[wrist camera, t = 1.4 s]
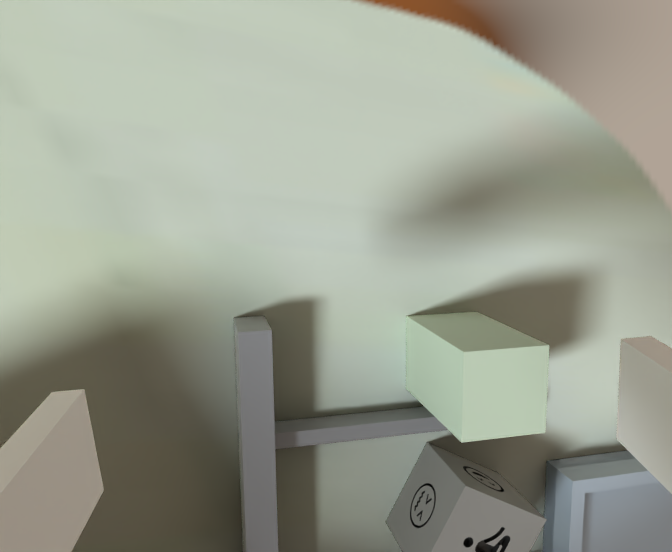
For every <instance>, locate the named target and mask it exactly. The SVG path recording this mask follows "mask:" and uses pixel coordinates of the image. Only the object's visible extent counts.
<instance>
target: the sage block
mask: <svg viewBox="0 0 672 552" xmlns="http://www.w3.org/2000/svg"><path fill="white" fill-rule="evenodd" d="M548 366H549V345H548V344H546V343H544V342H542V341H539V340H537V339H535V338H533V337H531V336H529V335H526V334H524V333H522V332H520V331H518V330H515V329H513V328H511V327H509V326H507V325H505V324H502V323H500V322H498V321H496V320H494V319H492V318H489V317H487V316H485V315H483V314H481V313H479V312H476V311H475V312H460V313H445V314H430V315H414V316H406V389H407V390H408V391H409V392H410V393H411V394H412V395H413V396H414V397H415V398H416V399H417V400H418V401H419V402H420V403H421V404H422V405H423V406H424V407H425V408H426V409H427V410H428V411H430V412H431V413H432V414H433V415H434V416H435V417H436V418H437V419H438V420H439V421H440V422H441V423H442V424H443V425H444V426H445V427H446V428H447V429H448V430H449V431H450V432H451V433H452V434H453V435H454V436H455V437H456V438H457V439H458V440H459V441H460V442H461V443H463V442H471V441H480V440H488V439H497V438H505V437H514V436H522V435H531V434H539V433H545V431H546V409H547V387H548Z"/></svg>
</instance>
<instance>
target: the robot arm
mask: <svg viewBox="0 0 672 552" xmlns="http://www.w3.org/2000/svg"><path fill="white" fill-rule="evenodd" d="M616 439H617V440H618V441H619V442H620V443H621V444H622V445H623V446H624V447H625V448H626V449H627V450H628V451H629V452H630V453H631V454H632V455H633V456H634V457H635V458H636V459H637V460H638V461H639V462H640V463H641V464H642V465H643V466H644V467H645V468H646V469H647V470H648V471H649V472H650V473H651V474H652V475H653V476H654V477H655V478H656V479H657V480H658V481H659V482H660V483H661V484H662V485H663V486H664V487H665V488H666V489H667V490H668V491H669V492H670V493H671V494H672V349H671V348H670V347H668V346H667V345H665V344H663V343H662V342H660V341H658V340H657V339H655V338H653V337H652V336H647V337H636V338H625V339H621V346H620V368H619V389H618V411H617V433H616ZM103 491H104V488H103V483H102V477H101V472H100V467H99V462H98V457H97V452H96V446H95V441H94V436H93V431H92V426H91V420H90V415H89V410H88V405H87V400H86V395H85V389H79V390H68V391H57V392H51V393H50V395H49V396H48V397H47V398H46V399H45V400H44V401H43V402H42V403H41V404H40V406H39V407H38V408H37V409H36V410H35V411H34V412H33V413H32V414H31V415H30V416H29V418H28V419H27V420H26V421H25V422H24V423H23V424H22V425H21V426H20V427H19V429H18V430H17V431H16V432H15V433H14V434H13V435H12V436H11V437H10V438H9V439H8V441H7V442H6V443H5V444H4V445H3V446H2V447H1V448H0V552H72V550H73V548H74V546H75V544H76V542H77V540H78V539H79V537H80V535H81V533H82V531H83V529H84V527H85V525H86V523H87V521H88V520H89V518H90V516H91V514H92V512H93V510H94V508H95V506H96V504H97V503H98V501H99V499H100V497H101V495H102V493H103Z"/></svg>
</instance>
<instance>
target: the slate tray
mask: <svg viewBox="0 0 672 552" xmlns="http://www.w3.org/2000/svg"><path fill="white" fill-rule="evenodd" d="M544 517H545V518H546V519H547V520H546V522H545V524H544V532H543V552H672V494H671V493H670V492H669V491H668V490H667V489H666V488H665V487H664V486H663V485H662V484H661V483H660V482H659V481H658V480H657V479H656V478H655V477H654V476H653V475H652V474H651V473H650V472H649V471H648V470H647V469H646V468H645V467H644V466H643V465H642V464H641V463H640V462H639V461H638V460H637V459H636V458H635V457H634V456H633V455H632V454H631V453H630V452H629V451H628V450H627V451H620V452H612V453H604V454H596V455H589V456H581V457H573V458H565V459H558V460H550V461H547V468H546V489H545V511H544Z"/></svg>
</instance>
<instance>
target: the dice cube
mask: <svg viewBox="0 0 672 552" xmlns="http://www.w3.org/2000/svg"><path fill="white" fill-rule="evenodd" d="M546 520H547V519H546V518H545V517H544V516H543V515H541V514H540V513H539V512H538V511H537V510H536V509H535V508H534V507H533V506H532V505H531V504H530V503H529V502H528V501H527V500H526V499H525V498H524V497H523V496H522V495H521V494H520V493H519V492H518V491H517V490H515V489H514V488H513V487H512V486H511V485H510V484H509V483H508V482H507V481H506V480H505V479H504V478H503V477H502V476H501V475H500V474H499V473H497V472H495V471H492V470H490V469H488V468H485V467H483V466H481V465H479V464H476V463H474V462H472V461H469V460H467V459H465V458H462V457H460V456H458V455H455V454H453V453H451V452H448V451H446V450H444V449H441V448H439V447H437V446H434V445H432V444H430V443H426V445H425V447H424V449H423V451H422V453H421V454H420V456H419V458H418V460H417V462H416V464H415V466H414V468H413V470H412V472H411V474H410V476H409V478H408V479H407V481H406V483H405V485H404V487H403V489H402V491H401V493H400V495H399V497H398V499H397V501H396V503H395V504H394V506H393V508H392V510H391V512H390V514H389V516H388V518H387V520H386V524H387V525H388V527H389V529H390V531H391V532H392V534H393V536H394V538H395V539H396V541H397V543H398V545H399V547H400V548H401V550H402V552H530V550H531V548H532V547H533V545H534V543H535V541H536V539H537V537H538V535H539V533H540V531H541V530H542V528H543V526H544V524H545V522H546Z"/></svg>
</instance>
